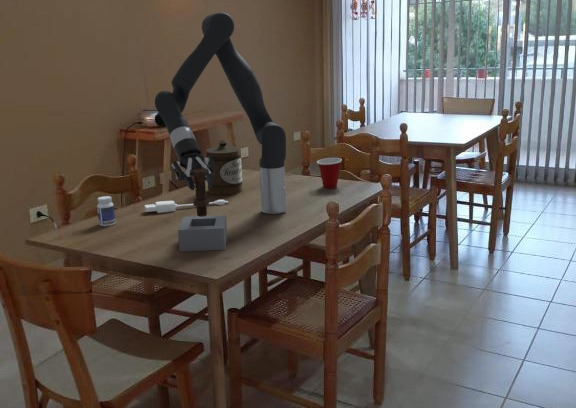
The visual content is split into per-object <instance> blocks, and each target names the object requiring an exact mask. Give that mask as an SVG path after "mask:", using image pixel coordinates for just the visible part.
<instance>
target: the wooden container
mask: <svg viewBox="0 0 576 408" xmlns="http://www.w3.org/2000/svg"><path fill="white" fill-rule="evenodd" d="M227 144H228V142H227V140H224V139H221V140H219V142H218V145H219V146H215V147H209V148H206V151H205V153H206V154H205V155H206V157H205V158H209V157H210V156H212V157H213V161H214V165H215V169H216V171H215V172H214V175H213V176H212V178H213V180H214V184H213V186H212V187H209V185H208V184H207V192H208V193H209V194H211V195H216V196H217V195H218V196H228V195H234V194H238V193H241V192H242V191H243V170H242V169H243V168H242V156H241V155H242V150H241V148H240V147H237V146H228V145H227ZM206 166H207V168H208V169H209V167H208V165H207V164H206Z"/></svg>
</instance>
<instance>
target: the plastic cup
mask: <svg viewBox="0 0 576 408" xmlns="http://www.w3.org/2000/svg"><path fill="white" fill-rule="evenodd" d="M342 161H343V159H342V158H339V157H327V158H321V159H319V160H317V161H316V164H317V165H318V167H319V171H320V172H319V173H320V176H321V181H322V186H323V188H325V189H335V188H337V187H338V180H339V176H340V169H341V164H342Z"/></svg>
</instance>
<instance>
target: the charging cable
mask: <svg viewBox="0 0 576 408" xmlns="http://www.w3.org/2000/svg"><path fill="white" fill-rule="evenodd" d="M228 203H229V201H228V200H225V199H217V200H214V201H211V202H210V201H209V204H208V205H217V206H222V205H226V204H228ZM189 206H190V207H191V206H195V205H194V204H193V203H187V204H177V203H176V202H175V201H174V200H163V201H155V202H154V203H152V204H151V203H150V204H144V210H145V212H146V213H149V212H151V213H152V212H156V213H157V214H163V213H171V212H176V209H177V208H178V207H189Z"/></svg>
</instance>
